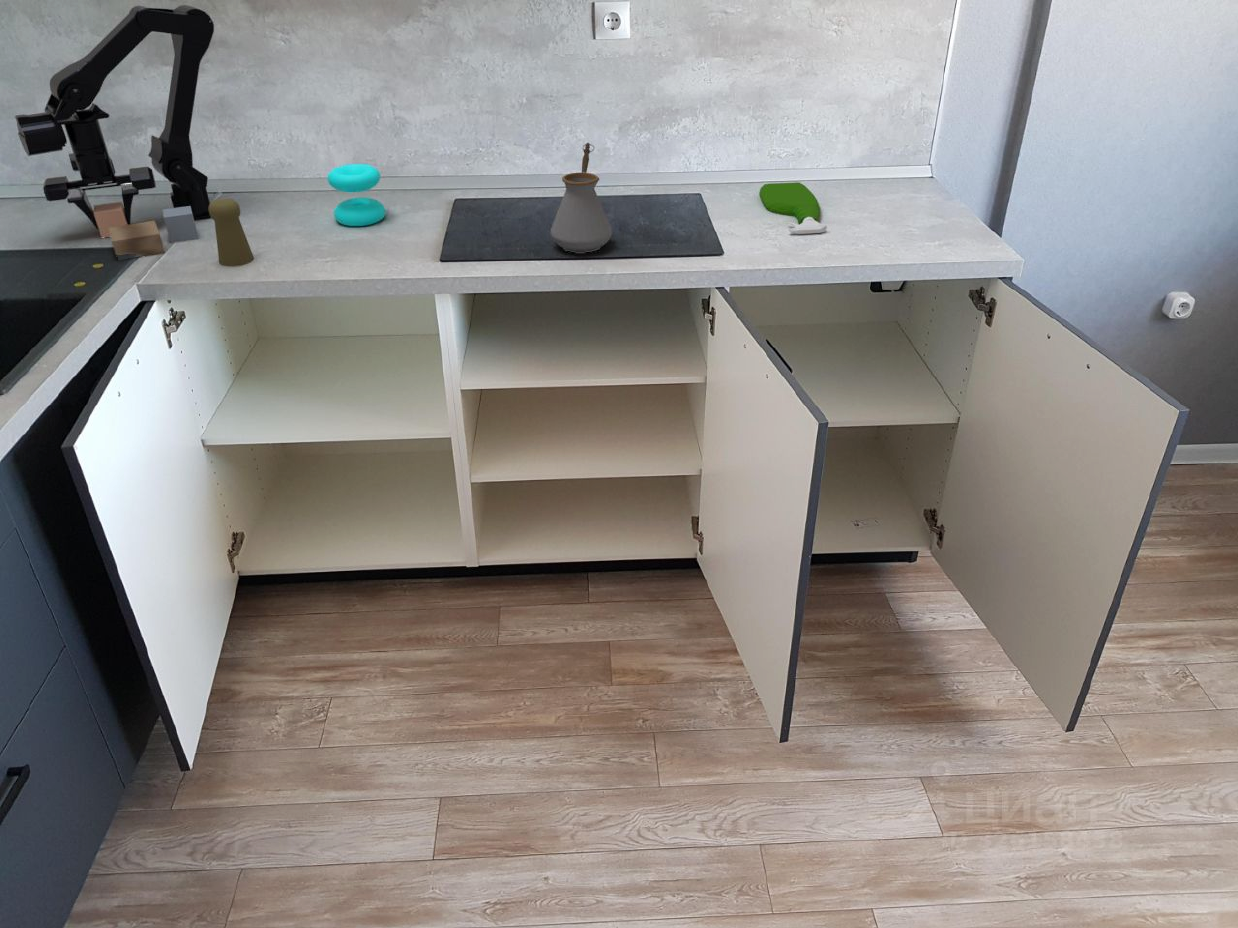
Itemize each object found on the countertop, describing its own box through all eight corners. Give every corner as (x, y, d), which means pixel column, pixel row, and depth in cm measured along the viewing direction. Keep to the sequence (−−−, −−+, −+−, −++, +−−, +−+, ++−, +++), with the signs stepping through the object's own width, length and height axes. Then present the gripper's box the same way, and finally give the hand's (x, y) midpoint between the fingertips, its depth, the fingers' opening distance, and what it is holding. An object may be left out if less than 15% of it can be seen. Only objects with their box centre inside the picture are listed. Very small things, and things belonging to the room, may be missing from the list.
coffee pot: (609, 258, 171) (608, 176, 163) (547, 257, 172) (542, 174, 164) (618, 218, 189) (618, 142, 181) (561, 217, 190) (558, 141, 181)
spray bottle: (805, 195, 201) (838, 237, 181) (754, 197, 201) (782, 240, 181) (806, 181, 200) (840, 222, 180) (755, 183, 199) (784, 225, 179)
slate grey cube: (197, 231, 185) (190, 206, 182) (198, 239, 181) (192, 213, 178) (169, 234, 183) (162, 209, 180) (170, 243, 179) (163, 217, 176)
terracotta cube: (129, 226, 187) (122, 201, 184) (130, 234, 183) (122, 209, 180) (101, 230, 185) (93, 205, 182) (101, 238, 181) (93, 213, 178)
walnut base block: (160, 241, 181) (154, 220, 179) (165, 254, 175) (159, 234, 173) (115, 248, 178) (108, 227, 175) (118, 262, 172) (111, 241, 170)
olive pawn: (242, 251, 175) (228, 192, 169) (260, 259, 172) (247, 199, 166) (212, 261, 171) (197, 201, 165) (230, 269, 168) (215, 208, 162)
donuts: (318, 177, 180) (336, 161, 188) (328, 227, 186) (345, 210, 194) (369, 178, 179) (385, 162, 187) (377, 229, 185) (392, 212, 193)
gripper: (141, 129, 184) (163, 208, 193) (34, 141, 178) (62, 221, 186) (143, 144, 175) (166, 225, 184) (31, 156, 169) (60, 240, 178)
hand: (114, 227), depth 183 cm, fingers closed on terracotta cube, 5 cm apart
